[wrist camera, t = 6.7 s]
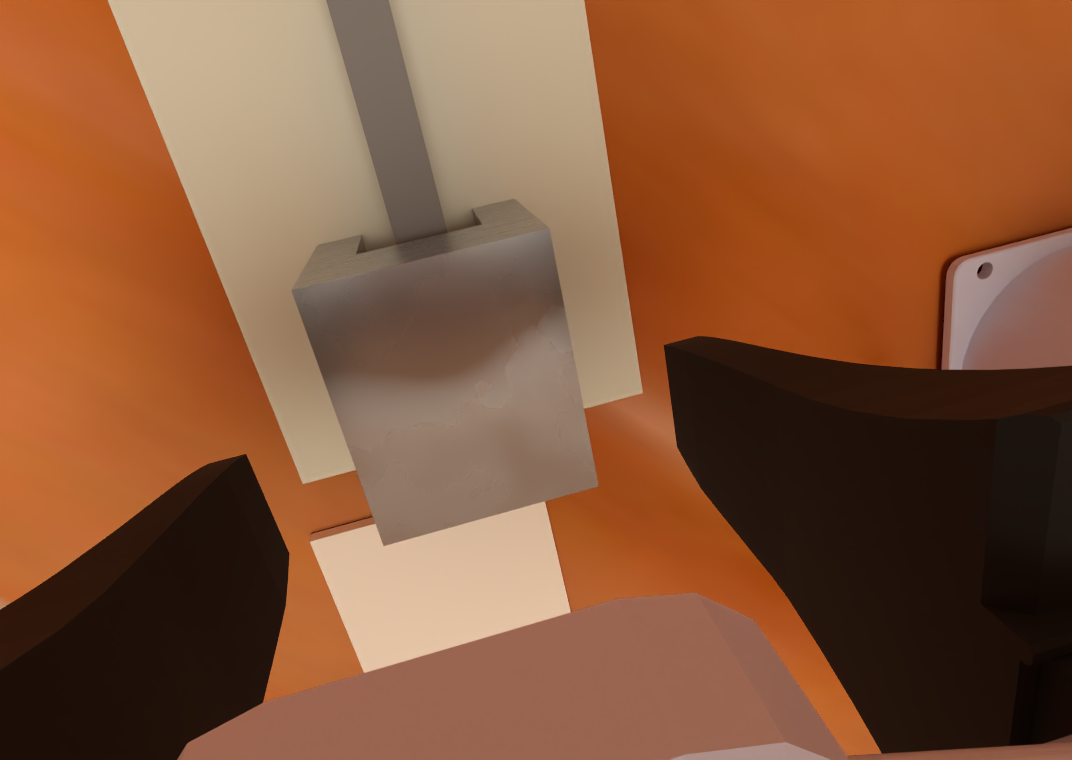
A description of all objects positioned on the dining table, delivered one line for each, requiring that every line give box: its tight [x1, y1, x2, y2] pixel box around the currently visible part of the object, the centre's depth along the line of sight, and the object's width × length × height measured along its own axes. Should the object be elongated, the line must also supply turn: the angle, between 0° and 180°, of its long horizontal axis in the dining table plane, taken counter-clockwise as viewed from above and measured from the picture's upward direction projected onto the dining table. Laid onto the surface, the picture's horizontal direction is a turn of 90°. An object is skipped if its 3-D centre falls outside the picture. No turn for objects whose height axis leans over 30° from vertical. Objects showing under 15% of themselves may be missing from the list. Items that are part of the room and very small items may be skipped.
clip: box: [291, 199, 599, 546], centre depth 16 cm, size 5×6×4 cm
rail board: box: [108, 0, 643, 484], centre depth 15 cm, size 10×16×4 cm, turn 11°
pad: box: [310, 501, 571, 673], centre depth 22 cm, size 7×7×1 cm
